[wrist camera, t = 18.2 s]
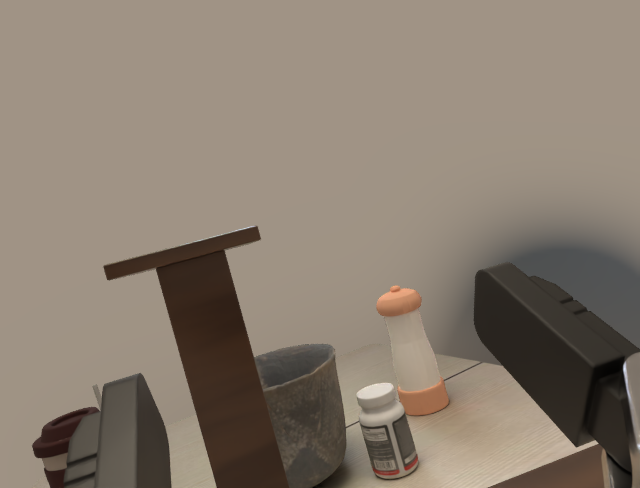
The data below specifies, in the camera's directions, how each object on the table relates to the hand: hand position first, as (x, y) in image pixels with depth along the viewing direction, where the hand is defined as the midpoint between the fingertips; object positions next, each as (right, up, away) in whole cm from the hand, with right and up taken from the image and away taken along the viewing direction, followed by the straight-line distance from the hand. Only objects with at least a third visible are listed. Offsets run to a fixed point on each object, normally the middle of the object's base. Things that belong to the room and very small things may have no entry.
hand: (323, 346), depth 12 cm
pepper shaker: (+16, -23, +66) cm, 72 cm away
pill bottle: (+9, -25, +50) cm, 57 cm away
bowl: (-3, -28, +55) cm, 61 cm away
